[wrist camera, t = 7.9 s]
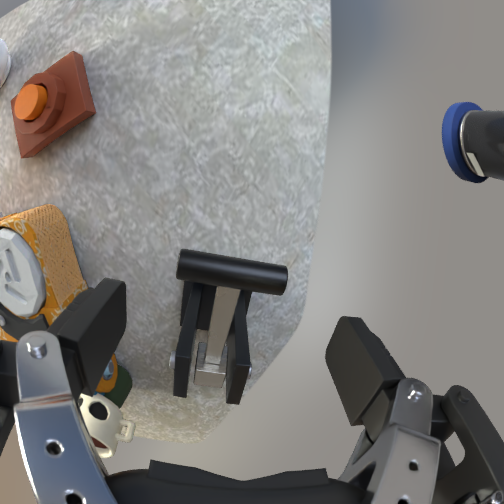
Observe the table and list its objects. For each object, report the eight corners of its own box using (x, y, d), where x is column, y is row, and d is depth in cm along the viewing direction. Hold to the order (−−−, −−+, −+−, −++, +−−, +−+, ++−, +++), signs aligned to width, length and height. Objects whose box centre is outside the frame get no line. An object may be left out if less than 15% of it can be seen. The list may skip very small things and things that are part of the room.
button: (45, 79, 16) (35, 76, 15) (50, 107, 18) (40, 106, 16) (22, 99, 16) (12, 97, 15) (27, 126, 18) (16, 126, 16)
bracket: (188, 256, 28) (160, 330, 16) (255, 267, 28) (272, 347, 16) (181, 320, 30) (160, 406, 18) (241, 329, 31) (247, 418, 19)
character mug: (144, 361, 32) (120, 440, 20) (152, 394, 34) (135, 466, 22) (76, 348, 31) (38, 413, 19) (89, 382, 33) (61, 444, 21)
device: (5, 388, 24) (-70, 201, 13) (26, 358, 32) (-33, 188, 21) (114, 412, 25) (18, 139, 14) (130, 367, 32) (67, 138, 22)
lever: (184, 235, 13) (173, 270, 11) (286, 253, 14) (290, 289, 12) (179, 355, 20) (175, 381, 19) (240, 364, 21) (239, 390, 19)
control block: (82, 55, 19) (64, 45, 15) (96, 113, 22) (77, 108, 18) (21, 102, 19) (1, 99, 15) (32, 157, 22) (11, 159, 18)
